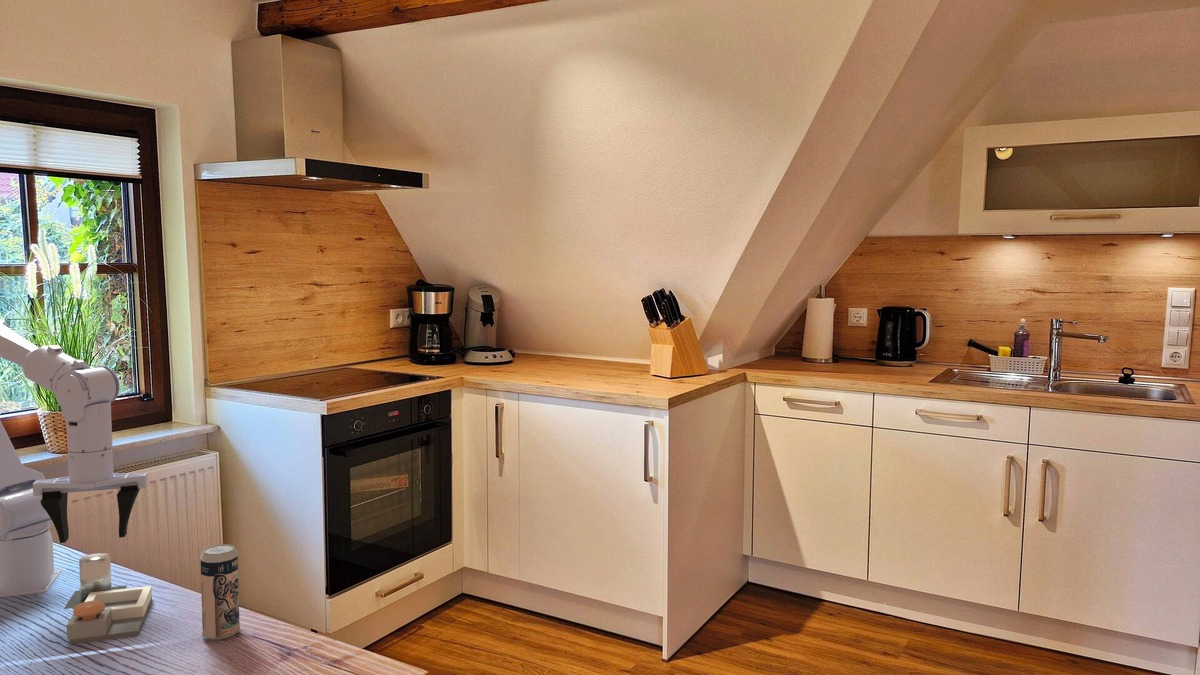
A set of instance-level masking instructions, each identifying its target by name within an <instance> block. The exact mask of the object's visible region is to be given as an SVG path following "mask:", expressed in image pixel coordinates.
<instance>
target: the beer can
mask: <svg viewBox="0 0 1200 675" xmlns="http://www.w3.org/2000/svg"><path fill="white" fill-rule="evenodd" d="M238 557H239V552H238V551H237V549H236V548H235V545H232V544H215V545H211V546H208V547H206V548H204V549H203V550H202V553H201V555H200V557H199V561H200V582H201V583H200V584H201V585H200V588H201V614H202V615H201V617H202V619H201V620H202V622H201V624H202V632H201V635H202V637H203V638H206V639H208V640H212V641H223V640H226V639H229V638H231V637H234V636H235V635H236V634H238V632H239V631H240V630H241V626H240V596H239V595H240V593H239V560H238V559H239V558H238Z"/></svg>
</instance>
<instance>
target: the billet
mask: <svg viewBox="0 0 1200 675" xmlns="http://www.w3.org/2000/svg"><path fill="white" fill-rule="evenodd" d="M78 560H79V561H78V562H79V563H78V566H79V588H80V589H79V590H80V591H81V600H82V601H85V600H86V599H87V597H88V595H89V594H90V593H91V592H100V591H109V590H112V588H111V587H112V570H111V569H112V567H111V566H112V565H111V564H112V562H111V554H109V553H103V552H99V553H98V552H97V553H92V554H87V555H85V556H84V555H83V556H82V557H80V558H79V559H78Z"/></svg>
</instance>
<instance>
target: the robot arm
mask: <svg viewBox="0 0 1200 675" xmlns="http://www.w3.org/2000/svg"><path fill="white" fill-rule="evenodd" d="M0 358H2V359H5V360H7V361H9V362H11V363H13V364H14V365H17V366H19V367H22V373H23V375H24V376H25V378H26V379H27V380H29V381H31V382H32V383H35V384H36V385H39V386H40V387H42V388H44V389H46V390H47V391H49V392H51V393H53V394H54V398H55V399H56V402H57V403H58V404H59V406H60V410H61V417H62V418H63V420H64V421H65V422H66V423H65V424H66V426H65V427H66V443H67V444H66V445H67V446H66V447H67V464H68V465H67V467H68V468H67V469H68V470H67V471H68V476H64V477H57V478H50V479H49V478H47V479H46V478H45V476H44V474H43V472H41V471H38V470H35V469H32V468H30V467H27V466H25V465H23V463H22V461H21V459H20V457H19V455H18V453H17V451H16V449H15V447H14V444H13V443H12V441H11V438H10V436H9V435H8V433H7V431H6V429H5V427H4V425H3V423H2V421H1V420H0V598H5V597H17V596H25V595H35V594H42V593H46V592H48V591H49V589H50V588H51V587H52V585H53V584H54V582H55V581H56V580H57V578H58V577H59V575H60V574H61V573H62V570H61V569H55V564H54V562H55V560H54V559H55V558H54V542H53V539H54V538H53V535H52V533H51V531H50V530H49V529H50V528H51V527H53V526H54V528H55V530H56V533H57V536H58V540H59V543H60V544H65V543H66V542H67V541H68V540H69V538H70V537H69V532H70V531H69V523H68V522H69V520H68V496H69V495H68V494H69V493H80V492H81V493H83V492H95V491H97V492H98V491H105V490H106V491H107V490H109V491H110V490H119V491H118V492H117V494H116V501H117V506H118V537H119V538H125V537H126V535H127V534H128V526H129V520H130V516H131V512H132V510H133V507H134V504H135V501H136V499H137V497H138V495H139V492H140V490H141V489H146V488H147V486H148V472H141V473H140V472H135V473H133V472H131V473H130V472H129V473H128V472H123V473H122V472H121V473H120V472H114V456H113V455H114V454H113V453H114V452H113V428H112V427H113V426H112V403H113V402H114V401H115V400H116V399H117V398H118V396H119V393H120V389H121V388H120V381H119V378H118V376H117V374H116V373H115V372H114V371H113V369H111V368H109V366H107V365H97V366H89V365H88V364H87V362H86V361H85V360H83V359H77V358H75V357H73V356H71V355H69V354H68V353H65V352H63V348H62V347H61V346H59V345H58V344H55V345H54V344H53V345H42V346H39V347H38V346H37V345H35V344H33V343H32V342H30V341H29V340H27V339H26V338H24V337H23V336H21V335H19V334H18V333H16V332H15V331H13V330H12V329H10V328H9V327H8V325H7V322H6V320H5V319H4V318H0Z"/></svg>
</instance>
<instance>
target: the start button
mask: <svg viewBox="0 0 1200 675" xmlns="http://www.w3.org/2000/svg"><path fill="white" fill-rule="evenodd" d="M72 609H73V610H72V611H73V614H74V616H76V617H83V620H90V619H97V616H96V615H97V614H99V613H101V612H103V611H104V610H105V603H104V602H103V601H98V600H96V601H87V602H83V603H80V604H78V605H76V606H75V607H74V608H72Z"/></svg>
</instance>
